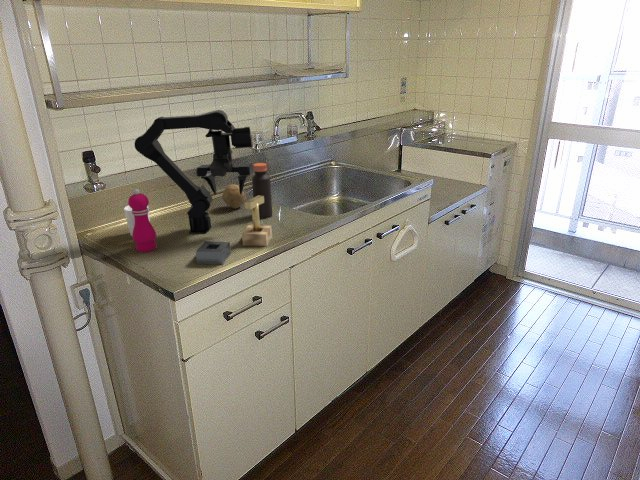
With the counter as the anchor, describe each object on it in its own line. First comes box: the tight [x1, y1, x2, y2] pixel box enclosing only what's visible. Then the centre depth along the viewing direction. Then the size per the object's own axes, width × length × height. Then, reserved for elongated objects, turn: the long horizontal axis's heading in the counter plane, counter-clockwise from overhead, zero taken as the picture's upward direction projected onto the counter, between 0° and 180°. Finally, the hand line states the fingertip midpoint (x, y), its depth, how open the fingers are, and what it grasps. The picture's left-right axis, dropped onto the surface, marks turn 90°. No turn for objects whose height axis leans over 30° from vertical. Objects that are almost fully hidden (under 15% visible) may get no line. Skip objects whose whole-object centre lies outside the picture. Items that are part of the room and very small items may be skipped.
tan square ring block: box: [241, 224, 273, 247], centre depth 157 cm, size 8×8×4 cm
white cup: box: [123, 205, 151, 238], centre depth 164 cm, size 8×8×10 cm
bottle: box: [251, 162, 273, 219], centre depth 177 cm, size 7×7×20 cm
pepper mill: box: [127, 188, 157, 253], centre depth 150 cm, size 7×7×20 cm
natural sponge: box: [221, 183, 247, 209], centre depth 188 cm, size 9×9×10 cm
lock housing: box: [195, 240, 232, 265], centre depth 144 cm, size 8×8×4 cm
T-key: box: [244, 195, 264, 232], centre depth 155 cm, size 8×2×15 cm, turn 154°
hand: (228, 194), depth 163 cm, fingers open, 9 cm apart
